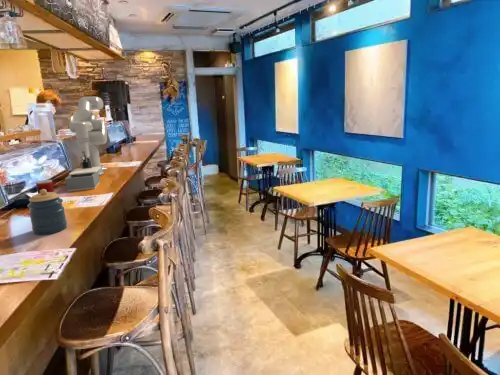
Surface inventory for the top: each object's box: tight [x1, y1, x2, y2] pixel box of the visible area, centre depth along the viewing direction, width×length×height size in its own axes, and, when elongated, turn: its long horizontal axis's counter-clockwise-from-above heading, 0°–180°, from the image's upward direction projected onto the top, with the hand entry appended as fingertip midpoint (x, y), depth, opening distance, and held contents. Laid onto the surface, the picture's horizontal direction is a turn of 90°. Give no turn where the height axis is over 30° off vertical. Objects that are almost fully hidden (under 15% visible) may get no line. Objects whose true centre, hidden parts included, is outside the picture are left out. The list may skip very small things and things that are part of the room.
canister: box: [27, 189, 68, 236], centre depth 153 cm, size 13×13×18 cm
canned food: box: [35, 179, 55, 194], centre depth 205 cm, size 8×8×11 cm
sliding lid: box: [68, 160, 102, 176], centre depth 244 cm, size 20×16×6 cm
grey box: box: [64, 171, 101, 192], centre depth 235 cm, size 20×16×8 cm
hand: (87, 166), depth 251 cm, fingers open, 7 cm apart
